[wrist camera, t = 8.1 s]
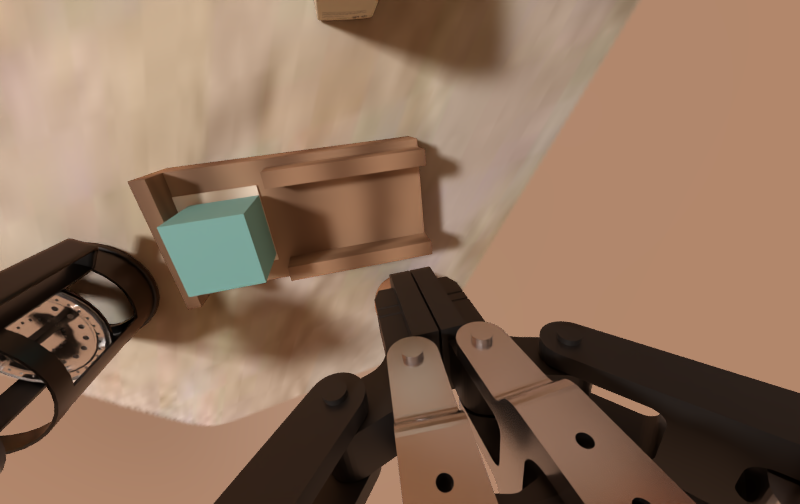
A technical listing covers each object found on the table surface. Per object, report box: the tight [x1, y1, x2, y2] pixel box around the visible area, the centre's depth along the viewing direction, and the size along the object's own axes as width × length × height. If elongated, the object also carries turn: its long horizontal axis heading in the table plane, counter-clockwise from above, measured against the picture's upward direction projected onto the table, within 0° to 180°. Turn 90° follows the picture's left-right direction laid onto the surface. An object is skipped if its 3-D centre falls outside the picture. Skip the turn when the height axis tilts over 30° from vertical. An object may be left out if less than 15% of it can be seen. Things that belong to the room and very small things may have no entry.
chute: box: [128, 136, 432, 309], centre depth 26 cm, size 20×10×6 cm, turn 96°
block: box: [157, 195, 276, 297], centre depth 23 cm, size 5×5×5 cm
